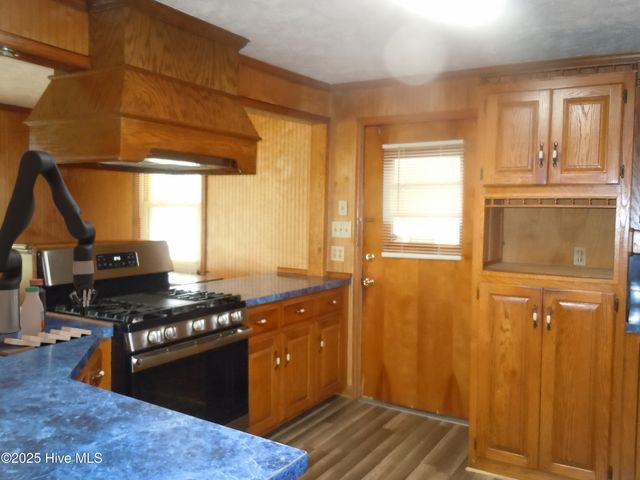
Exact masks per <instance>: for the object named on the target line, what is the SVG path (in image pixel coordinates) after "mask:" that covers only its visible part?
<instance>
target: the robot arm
mask: <svg viewBox="0 0 640 480" xmlns="http://www.w3.org/2000/svg"><path fill="white" fill-rule="evenodd" d="M17 170H18V171H17V176H16V180H15V183H14V186H13V187H14V188H13V190H12V193H11V197H10V198H9V199H10V200H9V201H8V202H9V203H8V205H7V208H6V211H5V214H4V218H3V221H2V224H1V226H0V274H1V276H0V334H10V333H11V334H12V333H17V332H21V289H20V288H21V283H22V280H23V257H22V254H21V252H20V251H19V250H18V249H15V248H13V245H14V244H15V242H16V241H17V239H18V238H19V237H20V236H21V235H22V234H23V233H24V232H25V231H26V229H27V228H28V227H29V226H30V225H31V222H32V220H33V217H34V213H35V210H36V201H35V200H36V199H35V192H34V189H35V184H36V183H37V179H38V176H42V177H43V178H44V180H45V181H46V182H47V185H48V186H49V189H50V192H51V197H52V201H53V203H54V206H55V207H56V209H57V211H58V212H59V213H60V215H61V217H62V218H63V221H64V223H65V227H66V229H67V232H68V233H69V234H70V236H71V237H72V238H74V239H75V240H78V241H77V245H76V246H74V248H73V251H72V252H73V253H72V254H73V263H72V284H73V286H74V287H73V289H72V291H73V292H71V293H69V294H68V298H69V299H70V301H71V302H72V304H74V306H76V307H79V315H80V316H81V317H87V316H88V315H89V306H90V305H93V302H94V301H95V299H96V297H97V296H98V294H99V290H95V289H94V288H95V287H94V283H95V274H94V273H95V271H94V270H95V269H94V268H95V267H94V253H93V252H94V246H95V241H96V236H97V235H96V234H97V231H96V226H95V224H93V223H92V222H91V221H88V220H87V221H84V220H83V219H82V216H81V214H82V210H81V208H80V206H79V205H78V203H77V202H76V200H75V199H74V197H73V195H72V194H71V192H70V191H69V189H68V187H67V185H66V183H65V180H64V179H63V176H62V174H61V172H60V170H59V168H58V165H57V163H56V161H55V159H54V156H52V154H50V152H47V151H45V150H37V149H36V150H35V149H34V150H33V149H31V150H27V151H25V152H24V153H23V154H22V155H21V158H20V162H19V165H18V169H17Z"/></svg>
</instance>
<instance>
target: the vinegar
mask: <svg viewBox="0 0 640 480" xmlns="http://www.w3.org/2000/svg"><path fill="white" fill-rule="evenodd" d="M28 280H29V287H39V293H38V295H39V298H40V300H41V302H42V304H43V308H44V328H45V327H46V326H47V315H46V314H47V313H46V311H47V310H46V309H47V307H46V290H45V289H44V288H43V285H44V283H43V281H44V279H43V278H32V279H28Z"/></svg>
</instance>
